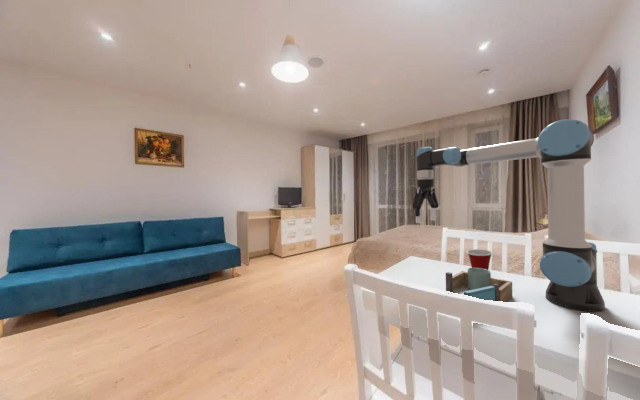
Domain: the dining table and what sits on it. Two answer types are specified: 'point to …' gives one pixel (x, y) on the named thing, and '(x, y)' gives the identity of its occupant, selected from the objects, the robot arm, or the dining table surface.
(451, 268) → the dining table surface
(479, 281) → the cup
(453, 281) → the wooden u-shaped tray
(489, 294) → the blue flat rectangular panel
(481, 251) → the plastic cup
